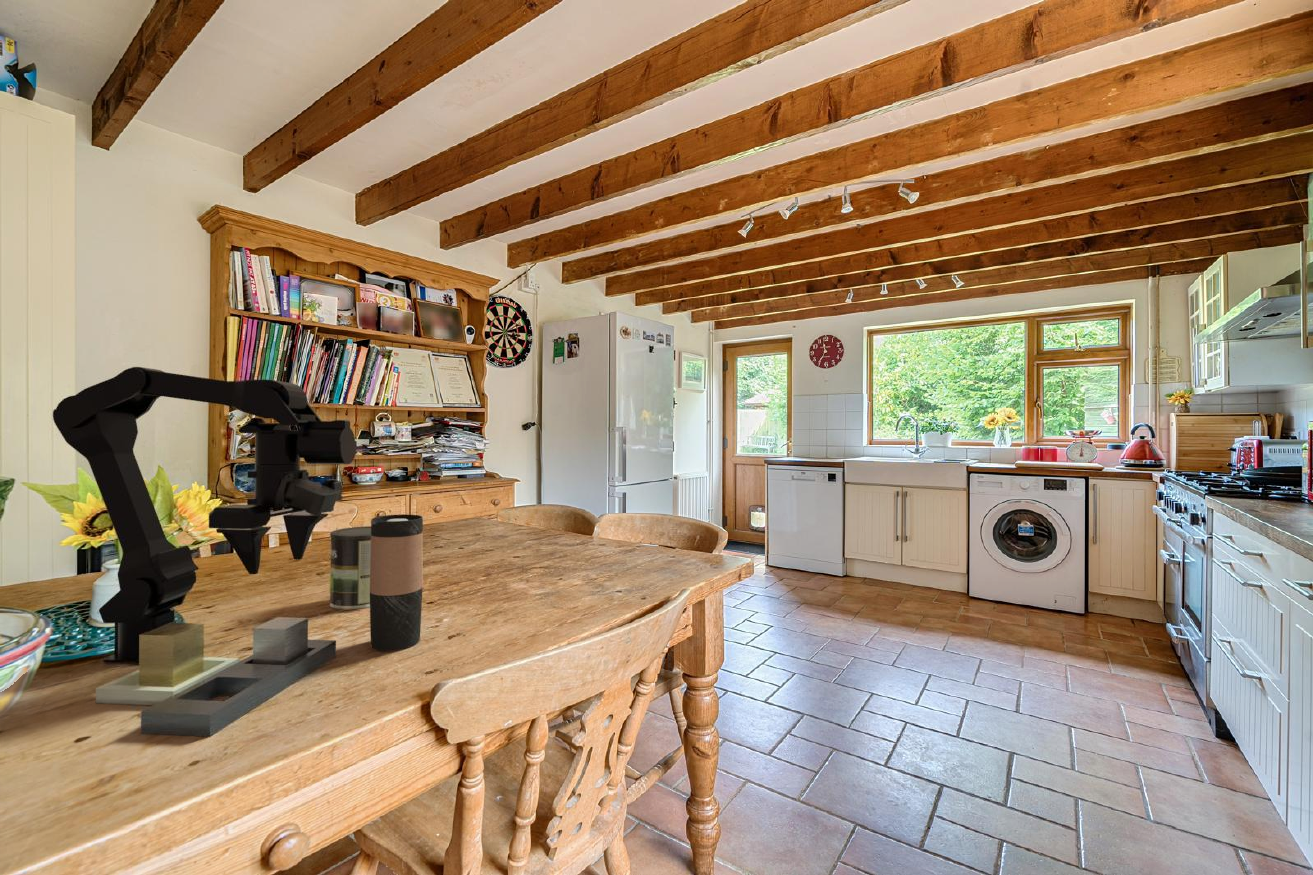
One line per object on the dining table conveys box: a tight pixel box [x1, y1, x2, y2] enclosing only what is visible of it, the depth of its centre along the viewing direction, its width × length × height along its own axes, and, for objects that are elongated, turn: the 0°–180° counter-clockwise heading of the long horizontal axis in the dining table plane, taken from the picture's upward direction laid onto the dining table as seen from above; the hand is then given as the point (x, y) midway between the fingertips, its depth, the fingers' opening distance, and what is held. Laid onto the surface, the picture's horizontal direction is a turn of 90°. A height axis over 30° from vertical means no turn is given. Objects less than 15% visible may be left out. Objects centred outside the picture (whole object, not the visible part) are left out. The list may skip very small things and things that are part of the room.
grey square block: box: [252, 616, 309, 665], centre depth 77 cm, size 4×4×7 cm
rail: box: [140, 639, 337, 738], centre depth 72 cm, size 8×22×2 cm, turn 177°
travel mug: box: [369, 514, 424, 652], centre depth 89 cm, size 8×8×20 cm
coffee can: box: [329, 525, 371, 611], centre depth 110 cm, size 10×10×14 cm
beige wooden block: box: [138, 622, 205, 687], centre depth 73 cm, size 4×4×7 cm
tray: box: [95, 656, 241, 706], centre depth 73 cm, size 10×10×2 cm
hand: (276, 566), depth 84 cm, fingers open, 9 cm apart
